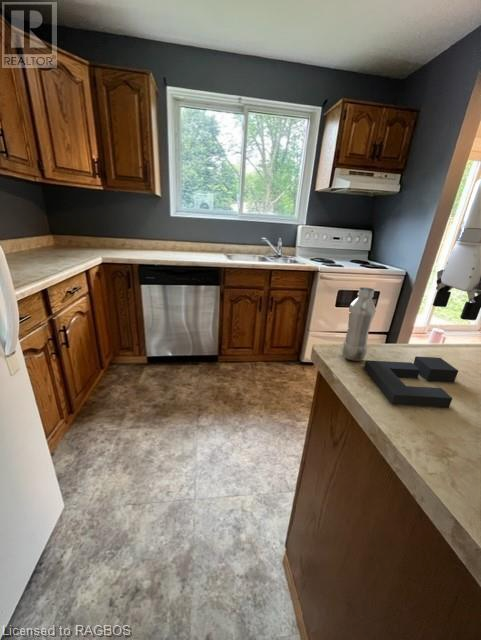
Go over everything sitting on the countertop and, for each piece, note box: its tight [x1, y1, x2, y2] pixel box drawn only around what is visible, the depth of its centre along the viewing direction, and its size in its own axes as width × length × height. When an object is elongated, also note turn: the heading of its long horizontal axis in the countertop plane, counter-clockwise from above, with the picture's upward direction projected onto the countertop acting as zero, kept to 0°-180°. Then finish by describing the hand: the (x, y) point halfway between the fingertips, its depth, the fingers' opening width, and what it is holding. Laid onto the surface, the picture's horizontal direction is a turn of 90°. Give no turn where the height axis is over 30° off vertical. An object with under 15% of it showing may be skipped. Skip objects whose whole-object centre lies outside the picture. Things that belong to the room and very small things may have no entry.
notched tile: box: [363, 359, 453, 409], centre depth 64 cm, size 12×15×2 cm
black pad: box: [412, 355, 459, 384], centre depth 69 cm, size 7×7×4 cm
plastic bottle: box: [341, 287, 377, 362], centre depth 73 cm, size 6×7×20 cm
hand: (452, 312), depth 65 cm, fingers open, 9 cm apart
